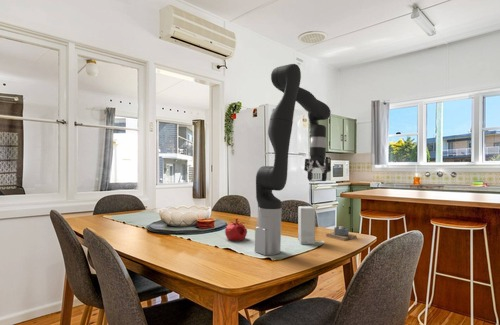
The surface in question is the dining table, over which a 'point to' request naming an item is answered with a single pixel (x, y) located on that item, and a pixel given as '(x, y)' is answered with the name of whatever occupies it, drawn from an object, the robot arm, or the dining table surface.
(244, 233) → the pomegranate
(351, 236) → the piston stand
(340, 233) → the steel ring
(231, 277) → the dining table surface
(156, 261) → the dining table surface
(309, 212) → the skincare box
